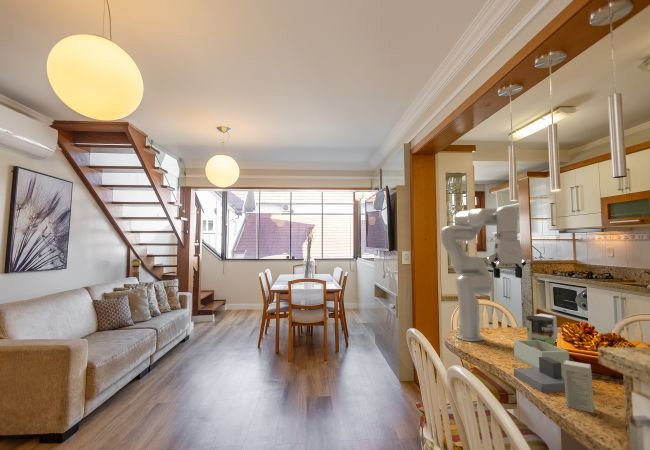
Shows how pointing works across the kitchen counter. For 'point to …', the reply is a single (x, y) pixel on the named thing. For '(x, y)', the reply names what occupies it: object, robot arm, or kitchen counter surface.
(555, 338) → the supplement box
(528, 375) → the lid
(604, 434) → the kitchen counter surface
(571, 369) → the skincare box
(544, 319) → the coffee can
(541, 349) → the box
